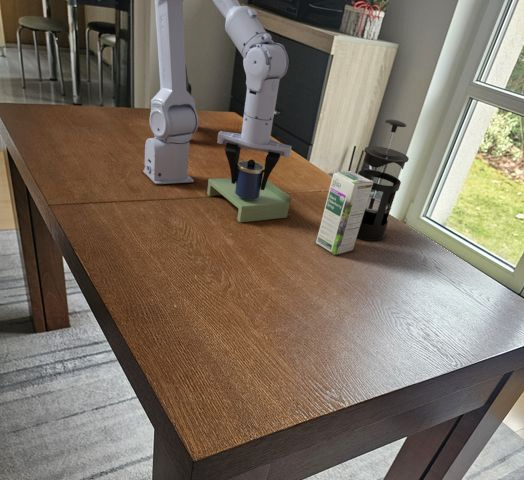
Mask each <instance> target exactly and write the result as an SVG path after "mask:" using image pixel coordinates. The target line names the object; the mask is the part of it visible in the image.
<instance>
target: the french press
mask: <svg viewBox="0 0 524 480" xmlns="http://www.w3.org/2000/svg"><path fill="white" fill-rule="evenodd" d="M384 122H385V123H386V124H387V125H390V126H391V130H390V132H391V135H390V138H389V141H388V145H387V147H383V146H375V145H371V146H366V147H364V153H365V155H364V160H363V162H364V163H365V164H367V165H368V166H370V167H373V168H376V169H377V168H378V169H379V168H380V171H379V170H375V169H371V168H369V167H362V168H361V170H359V171H358V172H357V174H358V175H360V176H362V177H364V178H366V179H369V180H372V179H373V178H378V179H377V181H376V182H373V185H372V188H371V191H372V190H373V191H374V192H373V195H372V196H369V198H368V202H367V205H366V208H365V212H364V215H363V218H362V222H361V225H360V228H359V231H358V235H357V238H356V239H358V240H363V241H367V242H379V241H382V240H384V239H385V236H386V230H387V226H388V223H389V220H388V218H389V216H390V212H391V210H392V206H393V202H394V199H395V196H396V193H397V192H398V191H399V190H400V188H401V184H402V181H401V180H400V179H399V178H398V177H396V176H395V175H392V174H389V173H387V172H384V171H383V170H384V166H385V165H389V164H397V165H398V166H400V169H401V170H404V168H405V165H406V163H408V162H409V160H410V158H409V156H407V155H406V154H404V153H403V152H400V151H398V150H395V149H392V148H391V144H392V140H393V137H394V134H395V133H396V132H397V129H398V127H399V128H406V127H407V124H406V123H405V122H403V121H400V120H397V119H391V118H390V119H385V121H384ZM380 180H385V181H387V182H390V183H391V184H392V185H385V184H380ZM377 192H381V193H382V195H381V198H377V197H376V194H377Z"/></svg>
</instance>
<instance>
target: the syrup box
mask: <svg viewBox="0 0 524 480" xmlns="http://www.w3.org/2000/svg"><path fill="white" fill-rule="evenodd" d="M373 183H374V180H372V179H371V180H369V179H366V178H364V177H362V176H360V175H358V173H356V172H355V171H353V170H342V171H341V170H340V171H336V172H334V173H333V174H332V178H331V180H330V184H329V185H330V186H329V189H328V193H327V197H326V201H325V206H324V209H323V213H322V216H321V217H322V218H321V222H320V226H319V229H318V233H317V237H316V240H315V244H316V245H318V246H320V247H321V248H323V249H325V250H327V252H330V253H331V254H332V255H334V256H337V255H341V254H344V253H347V252H351V251H353V250H354V247H355V245H356V241H357V239H358V238H357V235H358V231H359V228H360V225H361V222H362V218H363V215H364V212H365V208H366V205H367V202H368V198H369V197H370V194H371V192H372V189H371V188H372V185H373Z"/></svg>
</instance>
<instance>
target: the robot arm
mask: <svg viewBox="0 0 524 480" xmlns="http://www.w3.org/2000/svg"><path fill="white" fill-rule="evenodd" d="M184 1H185V0H154V13H155V26H156V27H155V28H156V43H157V56H158V72H159V87H160V89H159V90H158V92H157V93H156V94H155V95H154V96H153V97H152V98H151V100H150V113H149V127H150V129H151V132H152V134H153V135H154V137H149V138H146V141H145V144H144V169H143V170H142V172H143V174H145V175H146V176H147V177H148V178H149V179H150V180H151V181H152V182H153V183H154V184H156V185H170V184H187V183H190V184H191V183H194V182H195V180H194V178H192V177H191V176H190V175H188V172H189V171H188V169H189V155H190V154H189V153H190V142H191V140H192V139H193V134H195V133H197V131H198V128H199V123H200V122H199V115H198V112H197V110H196V100H195V98H194V97H193V96H192V94H191V95H190V94H189V93H188V92H187V90H186V69H187V68H186V69H185V64H186V50H185V47H186V46H185V25H184V4H183V3H184ZM211 2H212V3H213V4H214V6H215V7H216V9H217V10H218V11H219V12H220V14H221V15H222V17H223V18H224V19H225V23H224V30H225V32H226V33H227V35H228V36H229V38H230V40H231V41H232V43H233V44H234V46H235V47H236V48H237V50H238V52H239V54H240V55H241V56H242V58H243V60H242V63H243V64H242V66H243V69H244V72H245V77H246V80H245V86H246V94H245V100H244V101H245V102H244V111H243V118H242V127H241V133H238V132H237V133H236V132H229V131H222V130H220V131H219V132H218V134H217V144H219V145H225V148H224V153H225V156H226V158H227V162H228V167H229V170H230V178H231V183H232V184H235V183H236V180H237V172H238V168H237V163H238V162H239V161H240V155H241V149H242V148H244V149H248V150H251V151H257V152H262V153H267V154H266V156H265V160H264V161H265V162H264V166H265V169H264V172H263V180H262V184H261V190H264V189H265V186H266V183H267V180H268V179H269V177H270V175H271V173H272V171H273V170H274V168H275V167H276V165H277V164H278V162H279V160H280V158H281V157H283V158H285V159H290V157H291V151H292V145H289V144H286V143H282V142H279V141H275V140H272V139H271V136H272V131H273V130H272V129H273V122H274V117H275V110H276V105H277V99H278V98H277V97H278V92H279V88H280V87H279V86H280V80H281V79H282V78H283V77H284V76H285V75H286V74H287V71H288V69H289V61H290V60H289V55H288V52H287V50H286V48H285V46H284V45H283V44H281V43H278V42H274V40H273V39H272V38H273V37H272V35H271V34H270V33H269V32H267V31H266V30H265V28H264V27H263V25H262V23H261V21H260V20H259V19H258V16H259V15H258V12H257V11H256V9H254V8H251V7H250V6H247V5H241V4H240V1H239V0H211ZM172 105H179V106H172ZM268 181H269V180H268Z"/></svg>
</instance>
